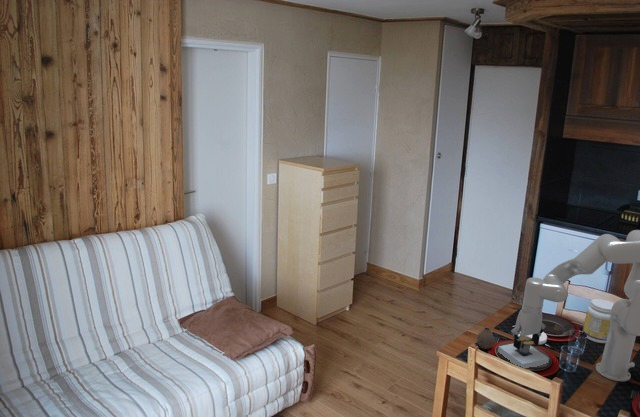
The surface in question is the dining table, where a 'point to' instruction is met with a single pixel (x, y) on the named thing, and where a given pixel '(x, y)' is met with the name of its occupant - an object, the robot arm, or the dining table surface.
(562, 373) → the dining table surface
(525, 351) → the gold lidded jar
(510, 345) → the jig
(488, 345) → the vase
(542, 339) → the plastic lid
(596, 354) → the dining table surface
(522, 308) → the robot arm
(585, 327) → the supplement tub
